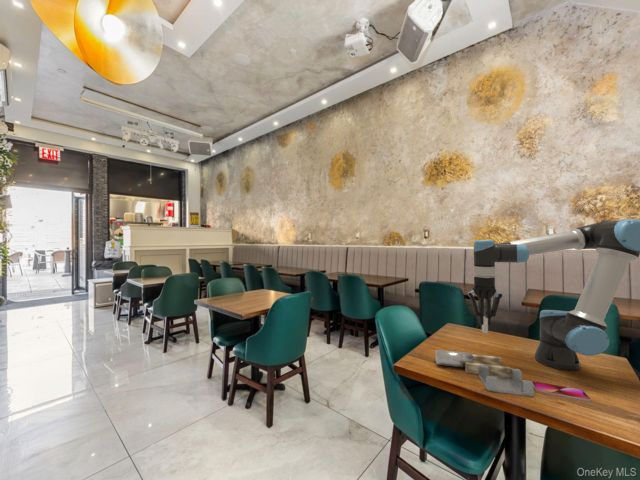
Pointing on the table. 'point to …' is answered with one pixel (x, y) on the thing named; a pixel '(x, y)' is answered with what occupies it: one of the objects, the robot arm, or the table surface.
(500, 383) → the cradle
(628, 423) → the table surface
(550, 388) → the smartphone
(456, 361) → the axle
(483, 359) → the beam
